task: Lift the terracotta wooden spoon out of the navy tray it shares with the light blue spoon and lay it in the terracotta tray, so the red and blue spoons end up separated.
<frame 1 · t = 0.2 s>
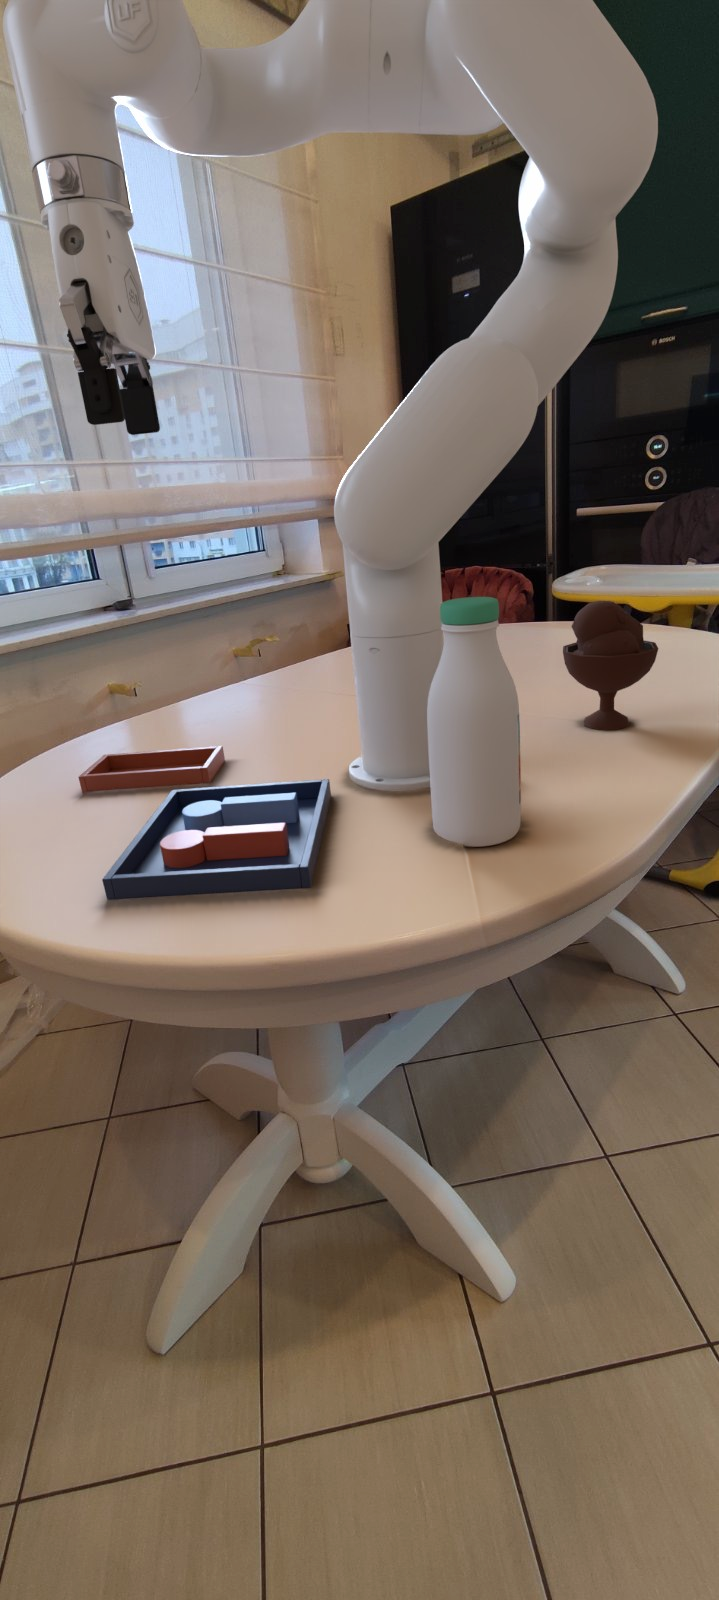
hand: (126, 428, 68), 36 cm above the table, tool pointing down, fingers open, 9 cm apart
blue spoon: (241, 822, 70), resting on navy tray
ice cream bowl: (606, 724, 90), on the table
milk bottle: (476, 832, 64), on the table
navy tray: (234, 845, 66), on the table
terracotta tray: (156, 779, 86), on the table
red spoon: (226, 855, 63), resting on navy tray
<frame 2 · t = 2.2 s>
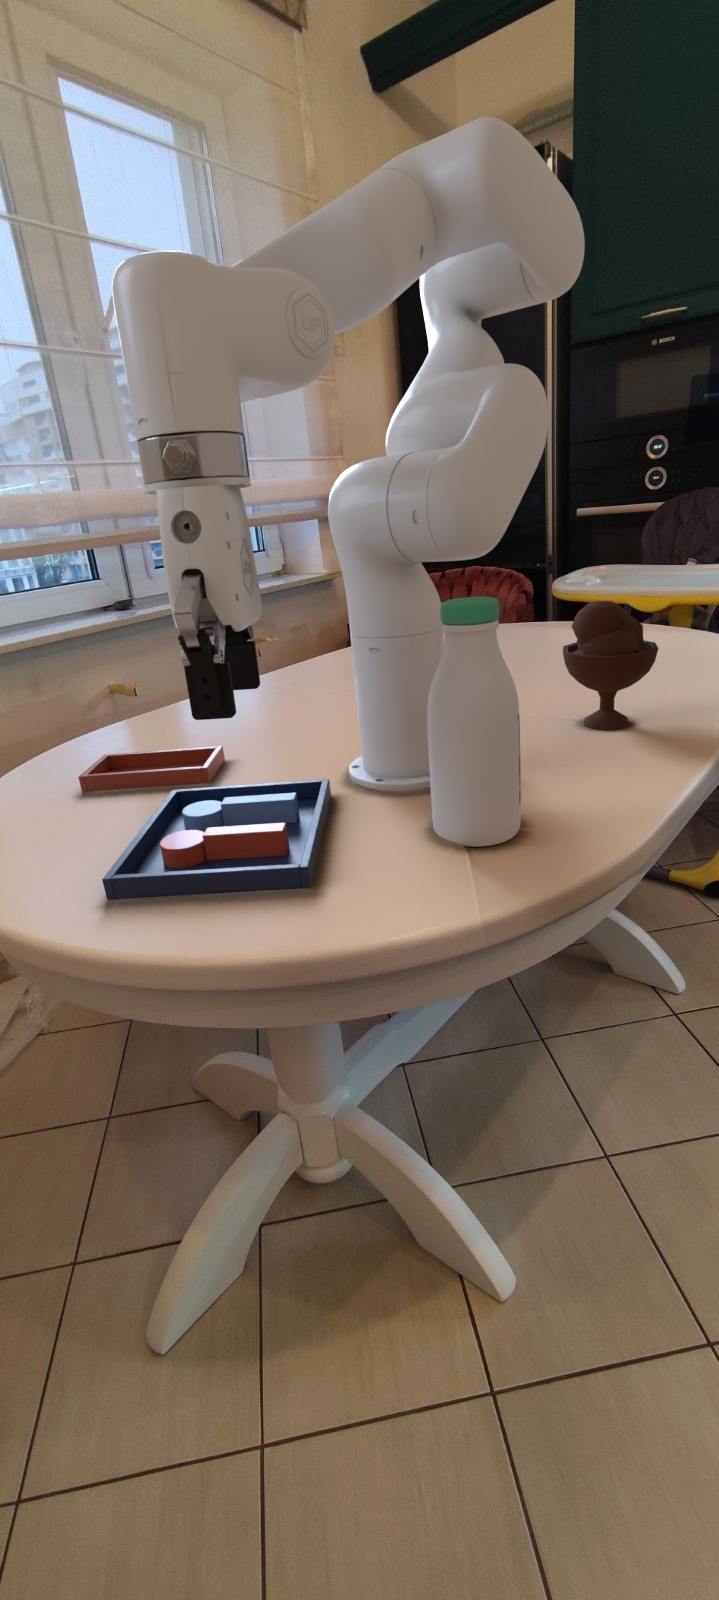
hand: (229, 702, 58), 14 cm above the table, tool pointing down, fingers open, 9 cm apart
nothing on the table moved.
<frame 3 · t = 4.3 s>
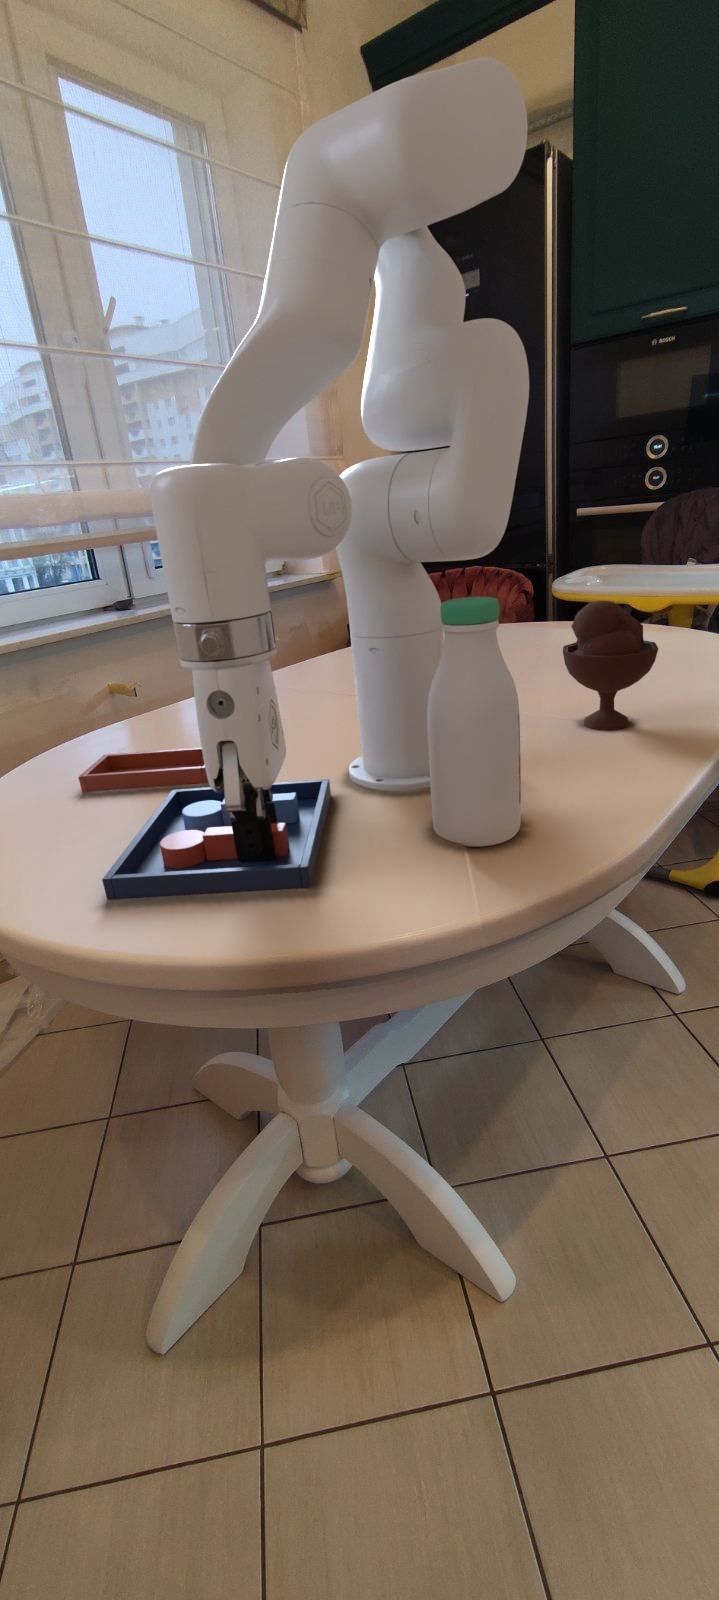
hand: (259, 851, 63), 1 cm above the table, tool pointing down, fingers closed on red spoon, 2 cm apart
red spoon: (226, 855, 63), point 1 cm above the table, touching gripper, navy tray
everything else where it was.
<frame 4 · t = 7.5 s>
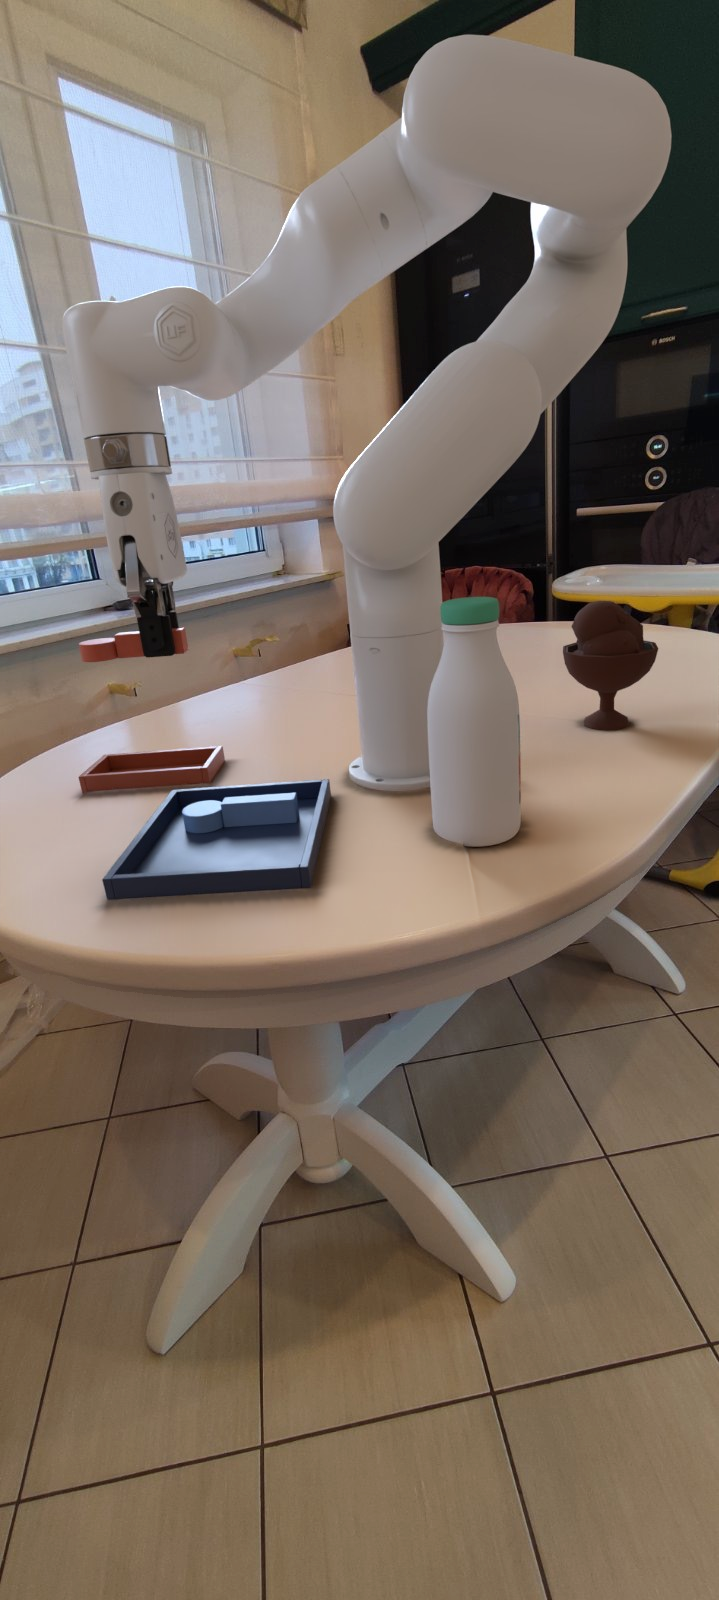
hand: (163, 652, 76), 15 cm above the table, tool pointing down, fingers closed on red spoon
red spoon: (134, 655, 76), point 15 cm above the table, touching gripper
everything else where it was.
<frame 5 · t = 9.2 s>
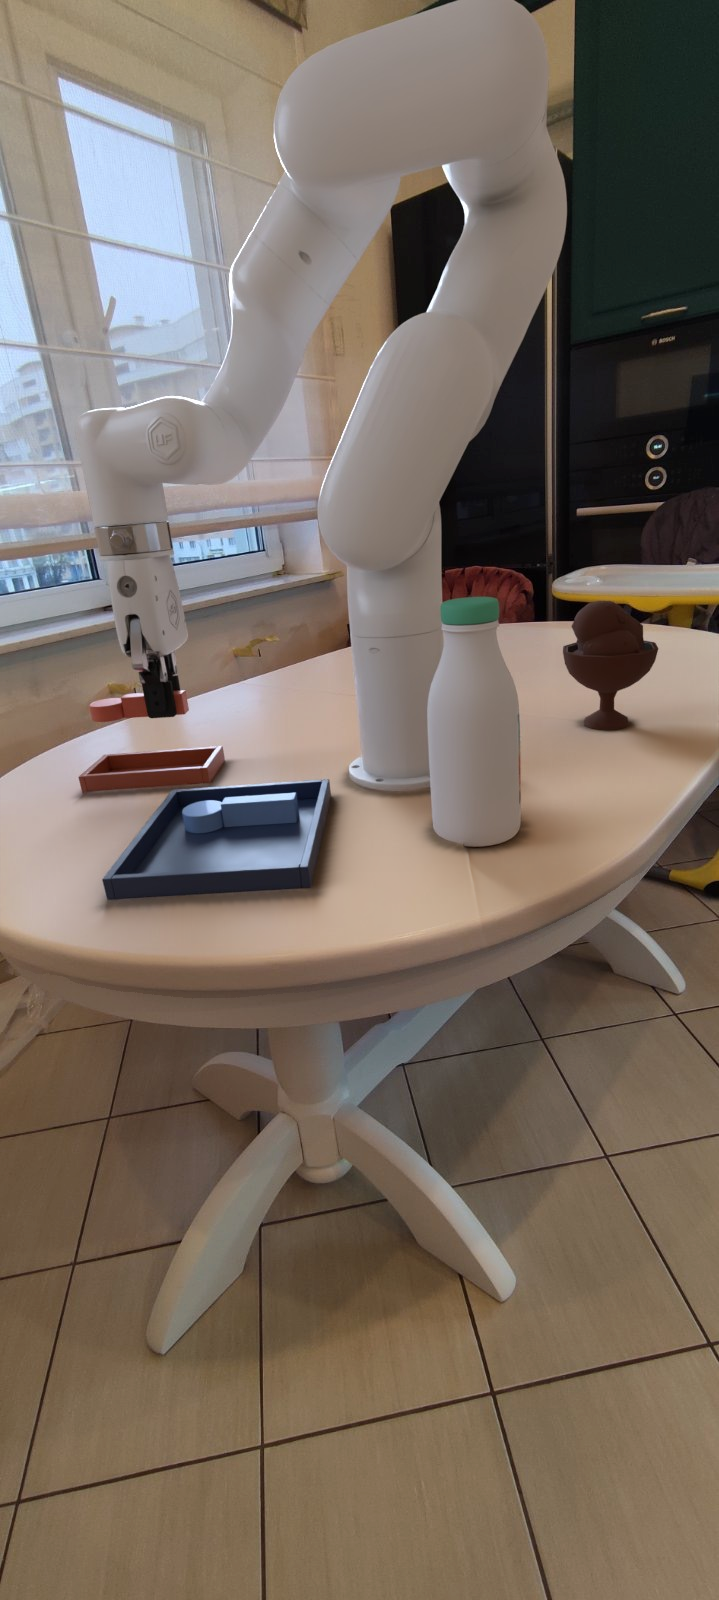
hand: (166, 712, 83), 8 cm above the table, tool pointing down, fingers closed on red spoon
red spoon: (140, 715, 83), point 8 cm above the table, touching gripper
everything else where it was.
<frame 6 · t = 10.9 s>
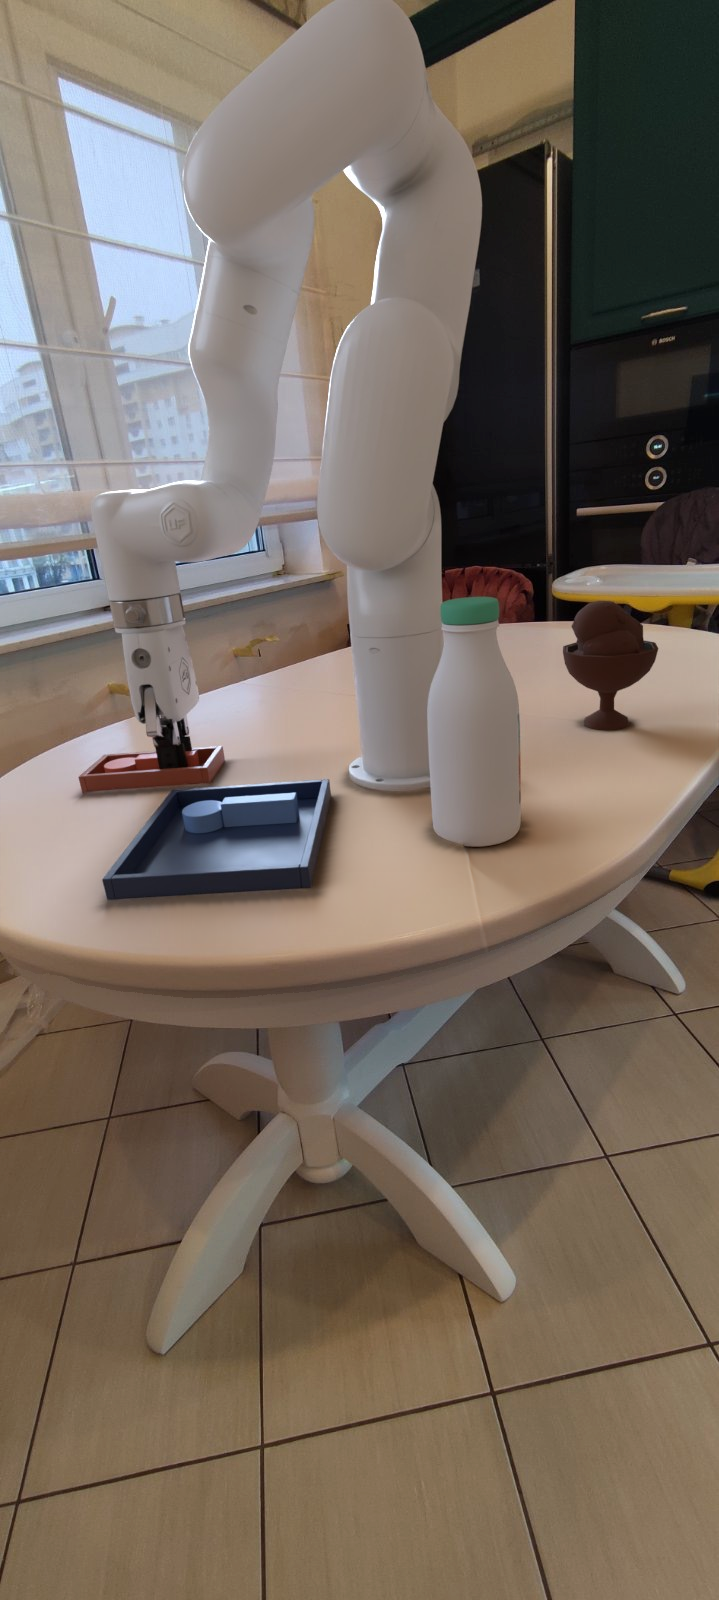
hand: (178, 772, 85), 1 cm above the table, tool pointing down, fingers closed, pressing on red spoon, terracotta tray
red spoon: (153, 775, 85), point 1 cm above the table, touching gripper, terracotta tray
everything else where it was.
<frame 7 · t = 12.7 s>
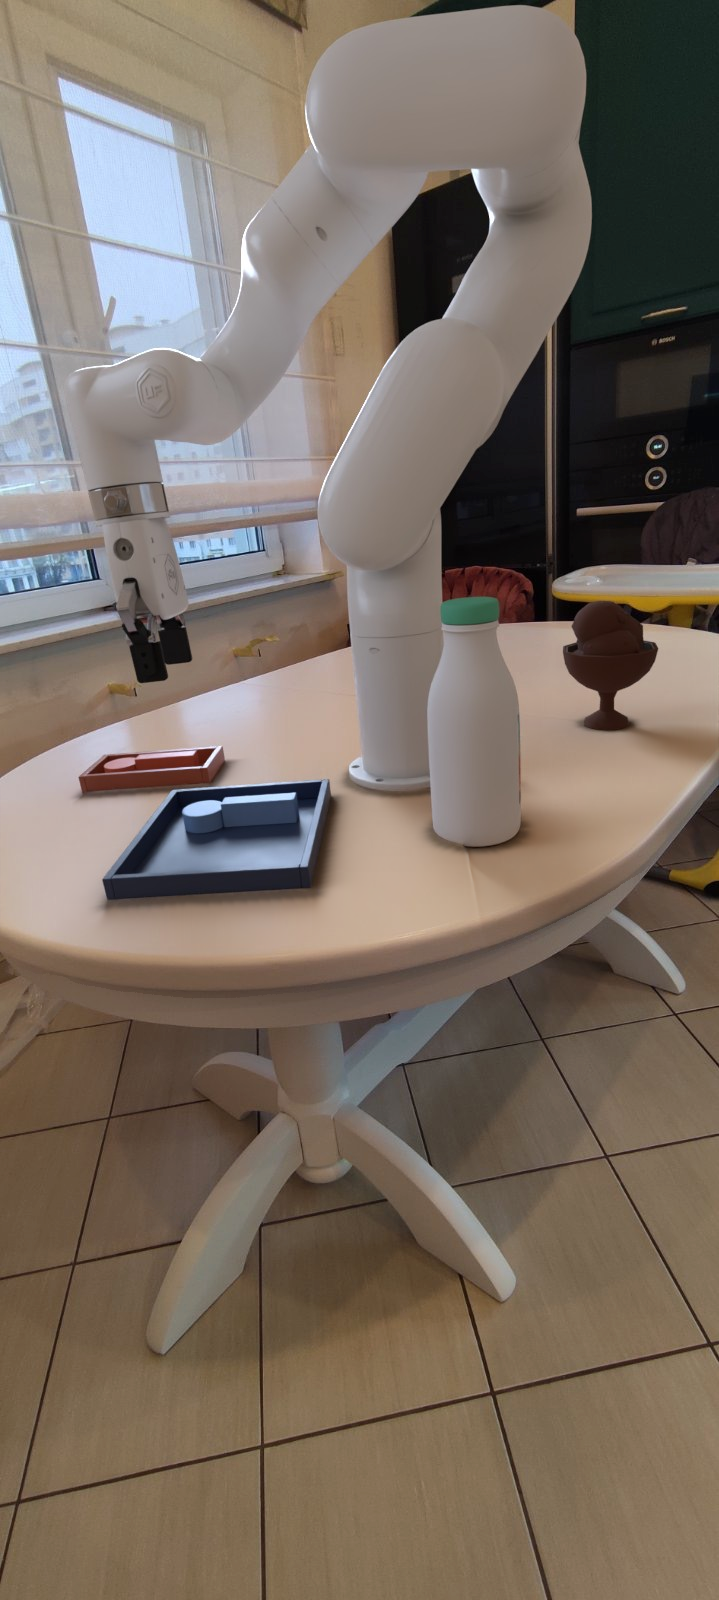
hand: (167, 671, 81), 13 cm above the table, tool pointing down, fingers open, 9 cm apart
red spoon: (153, 775, 85), resting on terracotta tray
everything else where it was.
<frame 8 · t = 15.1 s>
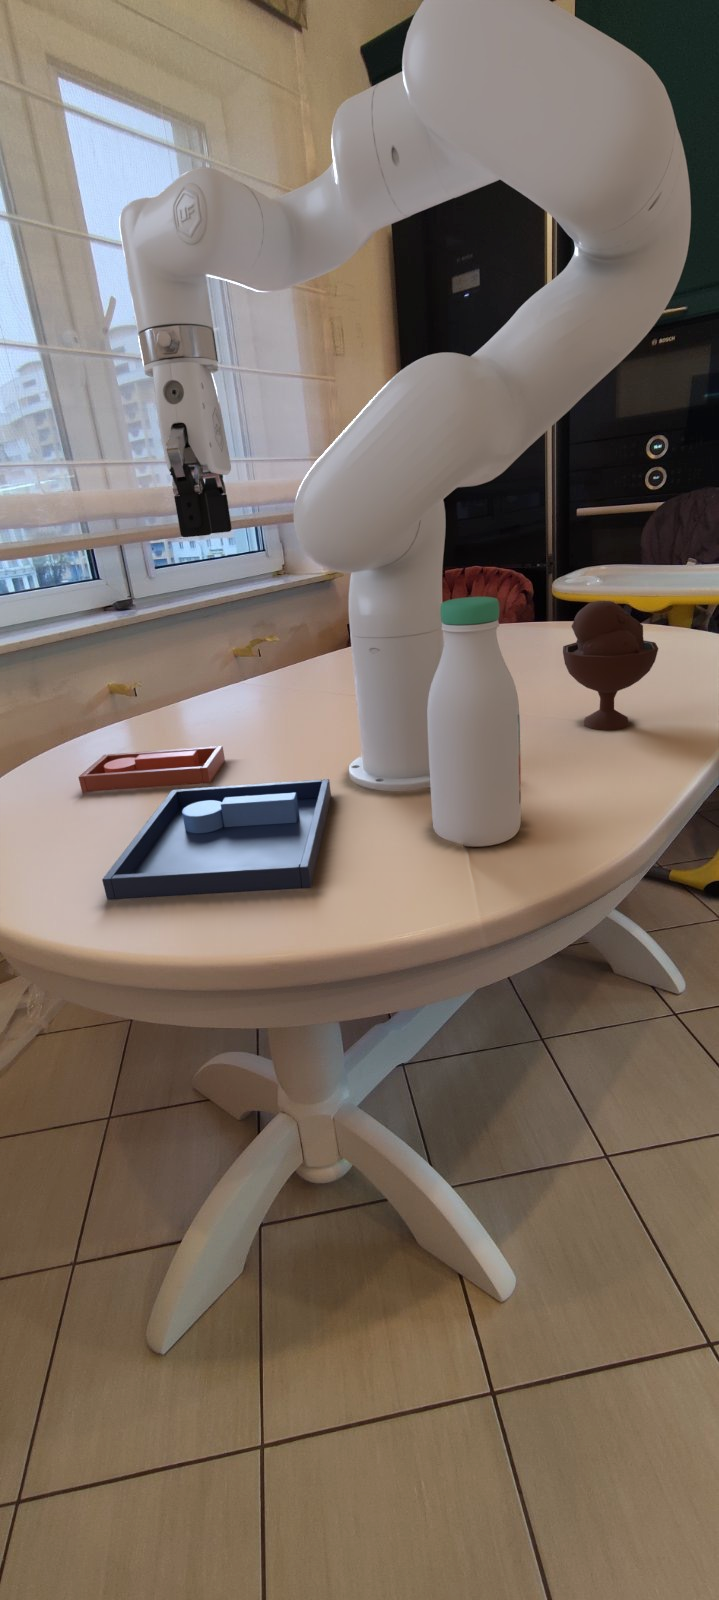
hand: (208, 534, 80), 26 cm above the table, tool pointing down, fingers open, 9 cm apart
nothing on the table moved.
at the end: red spoon inside the target area in the terracotta tray (0.3 cm from its centre), point 0.5 cm above the terracotta tray's base; blue spoon inside the target area in the navy tray (4.0 cm from its centre), point 0.5 cm above the navy tray's base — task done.
